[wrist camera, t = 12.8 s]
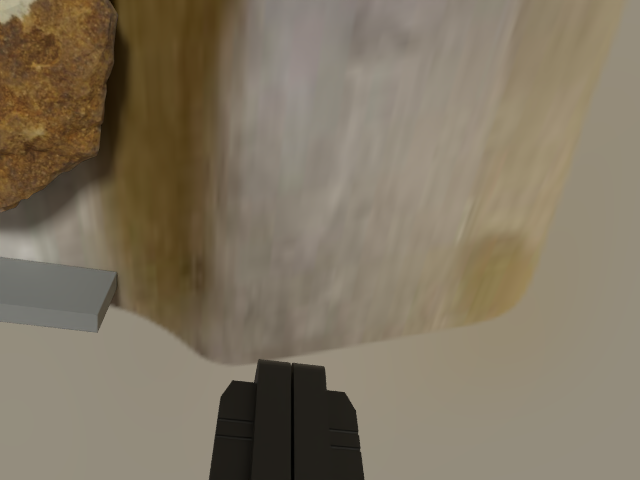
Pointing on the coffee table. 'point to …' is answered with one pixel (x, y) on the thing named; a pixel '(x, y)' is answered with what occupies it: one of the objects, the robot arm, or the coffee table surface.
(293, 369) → the robot arm
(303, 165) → the coffee table surface
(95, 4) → the decorative rock
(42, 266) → the box
